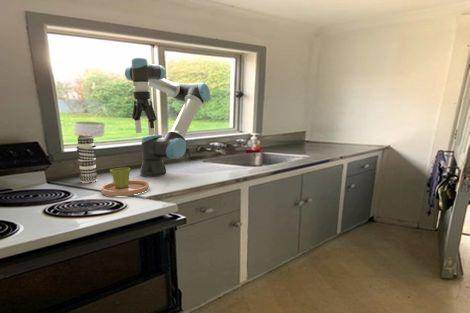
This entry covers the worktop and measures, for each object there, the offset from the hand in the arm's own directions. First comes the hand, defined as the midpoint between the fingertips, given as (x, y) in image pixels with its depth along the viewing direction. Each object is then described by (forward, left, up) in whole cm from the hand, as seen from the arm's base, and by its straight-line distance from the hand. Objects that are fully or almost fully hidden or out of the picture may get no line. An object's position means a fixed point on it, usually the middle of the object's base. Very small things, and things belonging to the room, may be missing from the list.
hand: (145, 133), depth 153 cm
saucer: (+5, -14, -26) cm, 30 cm away
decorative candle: (-27, -20, -26) cm, 42 cm away
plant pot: (+1, -14, -25) cm, 29 cm away
